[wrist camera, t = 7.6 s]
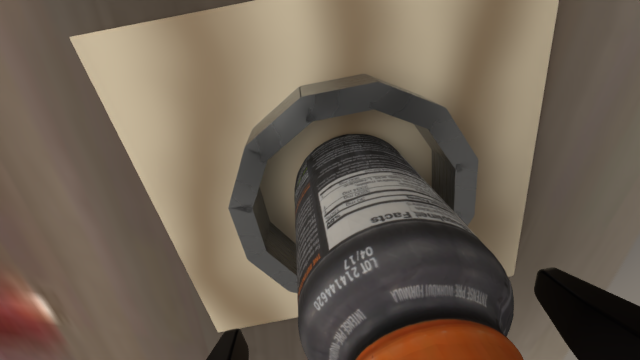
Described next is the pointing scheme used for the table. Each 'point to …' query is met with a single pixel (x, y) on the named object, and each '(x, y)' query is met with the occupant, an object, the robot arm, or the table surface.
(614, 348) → the robot arm
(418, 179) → the pill bottle
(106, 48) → the ring holder
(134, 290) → the table surface
